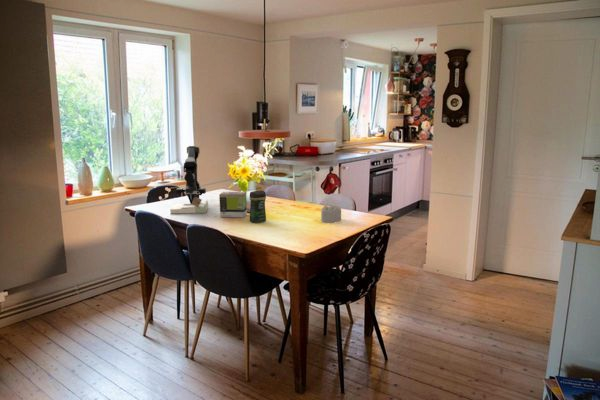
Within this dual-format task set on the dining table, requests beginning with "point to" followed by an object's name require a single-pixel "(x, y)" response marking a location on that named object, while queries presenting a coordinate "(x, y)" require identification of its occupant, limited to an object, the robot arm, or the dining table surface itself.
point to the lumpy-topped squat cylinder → (330, 214)
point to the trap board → (189, 208)
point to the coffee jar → (257, 206)
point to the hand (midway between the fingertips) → (191, 203)
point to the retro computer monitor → (233, 204)
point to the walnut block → (196, 202)
